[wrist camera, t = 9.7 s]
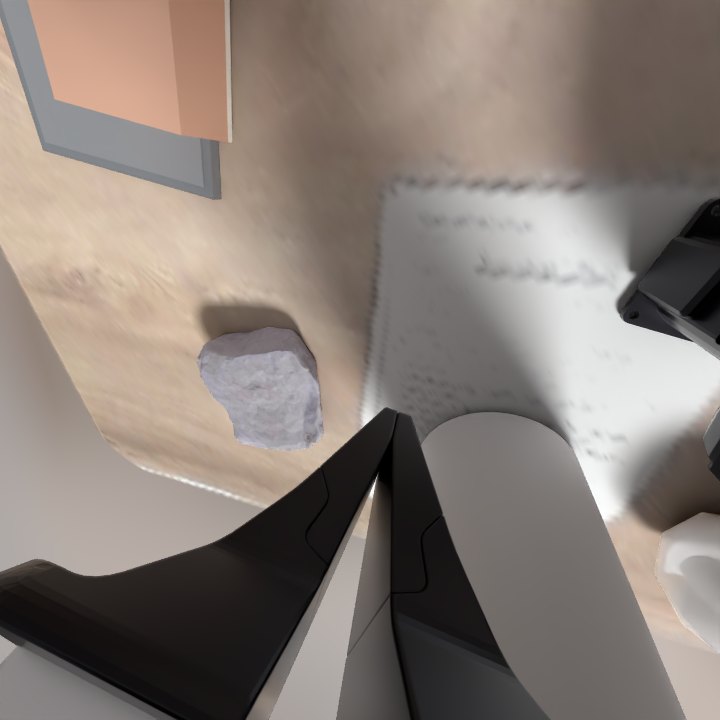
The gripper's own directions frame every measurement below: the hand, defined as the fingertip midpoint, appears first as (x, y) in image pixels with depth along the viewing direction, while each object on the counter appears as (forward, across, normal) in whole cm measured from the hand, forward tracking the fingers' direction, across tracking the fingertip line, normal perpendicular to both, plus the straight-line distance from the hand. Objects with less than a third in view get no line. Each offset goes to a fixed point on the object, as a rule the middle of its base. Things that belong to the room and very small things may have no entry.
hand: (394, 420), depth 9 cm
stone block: (+14, +10, +13) cm, 21 cm away
